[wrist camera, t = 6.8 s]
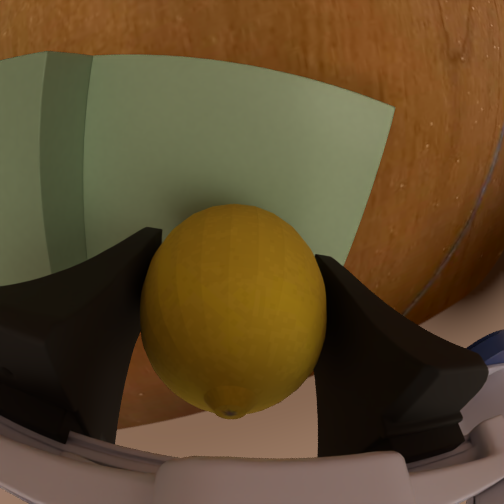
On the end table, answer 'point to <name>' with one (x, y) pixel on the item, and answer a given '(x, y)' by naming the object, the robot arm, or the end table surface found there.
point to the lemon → (233, 310)
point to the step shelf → (173, 152)
